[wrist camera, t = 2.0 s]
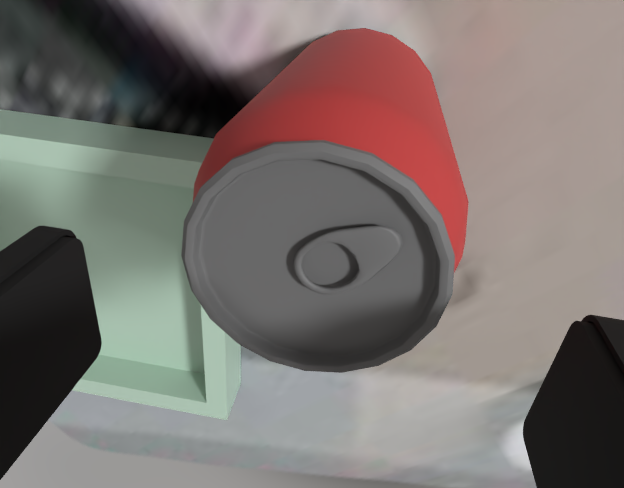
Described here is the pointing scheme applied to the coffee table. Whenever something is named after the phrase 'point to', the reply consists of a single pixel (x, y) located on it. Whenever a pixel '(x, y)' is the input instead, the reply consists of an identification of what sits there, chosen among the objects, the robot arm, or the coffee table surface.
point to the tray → (124, 252)
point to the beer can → (330, 210)
